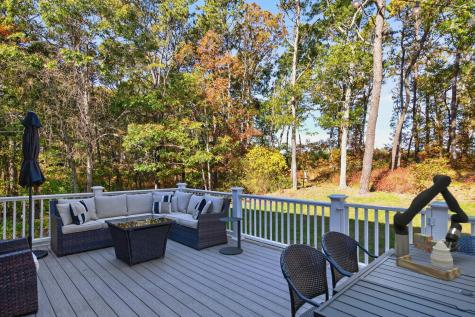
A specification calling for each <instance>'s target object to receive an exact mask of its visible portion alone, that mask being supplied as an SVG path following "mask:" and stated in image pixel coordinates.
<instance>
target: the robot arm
mask: <svg viewBox="0 0 475 317" xmlns="http://www.w3.org/2000/svg"><path fill="white" fill-rule="evenodd" d="M432 183H433V184H432V185H431V186H429V187H428V188H425V189H424V190H422V191H420V192H419V193H418V194H417V195H416V196H415V197H414V198H413V199H412V201H411V203H410V205H409V207H408V208H407V209H406V210H405V211H403V212H396V213H395V214H394V215H393V218H392V219H393V220H392V222H393V223H392V224H393V229H394V240H395V241H394V255H395V257H396V258H399V257H402V256H406V255H410V233H409V230H408V228H407V226H408V225H409V224H410V223H411V222H412V220H414V218H415V217H416V216H417V215H418V214H419V213H420V212H421V211H422V210H424V208H425V207H427V206H428V205H429V204H430V202H432V201H433V200H434V199H435V198H436V197H437V196H438V195H439V194H440V195H441V196H442V198H443V201H444V202H445V204H446V206H447V208H448V210H449V211H450V213H453V214H451V215H450V226H449V228H448V230H447V232H446V235H445V238H444V239H446V241H445V242H444V243H445V245H446V246H447V248H449V249H450V251H449V252H450V253H454V252H456V251H458V250H460V249H461V246H460V245H459V244H458V243H459V240H460V238H461V234H462V231H463V226H462V224H467V223H469V220H470V219H469V216H468V215H467V213H466V212H465V211H464V210H463V209H462V207H461V206H460V204H459V202H458V200H457V198H456V196H454V195H453V194H452V192H451V191H450V190H449V189H448V187H449V186H450V185H451V184H452V178H451V176H449V175H446V174H435V175H433V177H432Z"/></svg>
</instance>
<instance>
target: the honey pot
mask: <svg viewBox="0 0 475 317" xmlns="http://www.w3.org/2000/svg"><path fill="white" fill-rule="evenodd" d="M438 241H439V242H437V243H436V245H435V246H433V247H432V248H433V251H432V253H431V252H430V253H431V254H430V255H429V256H430V260H429V261H430V262H429V264H430V265H432V266H433V267H435V268H436V267H437V268H440V269H453V268H454V259H453V257H452V254H451V252H449V251H450V249H449V248H447V246H446V245H445V243H444V242H445V241H446V239H445V238H441V239H440V240H438Z"/></svg>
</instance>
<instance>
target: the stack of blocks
mask: <svg viewBox="0 0 475 317" xmlns="http://www.w3.org/2000/svg"><path fill="white" fill-rule="evenodd" d="M433 238H434V237H433V235H430V234H424V233H419V232H417V233H413V247H415V249H417V248H418V250H421V251H424V250H425V252H427V251H429V252H428V253H431V252H432V251H433V248H432V247H433V246H435V245H436V243H437V242H439V241H440V240H435V239H433Z"/></svg>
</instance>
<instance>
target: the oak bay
mask: <svg viewBox="0 0 475 317" xmlns="http://www.w3.org/2000/svg"><path fill="white" fill-rule="evenodd" d="M395 262H396V266H397V267H399V268H403V269H407V270H410V271H413V272H416V273H421V274H423V275H427V276H430V277H432V278H436V279H440V280H443V281H446V282H449V281H451V280H454V279H456V278H458V277H461V267H458V266H457V267H453V268H450V269H449V270H443V269H439V268H436V267H431V266H427V265H425V264H421V263H417V262H413V261H412V254H409V255H406V256H402V257H395Z"/></svg>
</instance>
